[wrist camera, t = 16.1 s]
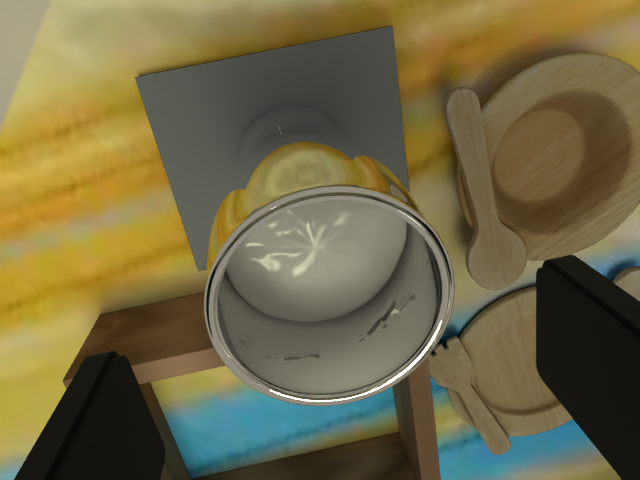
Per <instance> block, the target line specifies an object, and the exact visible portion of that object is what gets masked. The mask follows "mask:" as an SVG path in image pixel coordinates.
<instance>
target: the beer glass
mask: <svg viewBox="0 0 640 480" xmlns="http://www.w3.org/2000/svg"><path fill="white" fill-rule="evenodd" d="M453 301H454V274H453V269H452V264H451V261H450V258H449V255H448V252H447V250H446V248H445V246H444V244H443V242H442V240H441V238H440V237H439V235H438V234H437V232H436V231H435V230H434V228H433V227H432V226H431V225H430V224H429V223H428V221H427V219H426V218H425V216H424V214H423V213H422V211H421V210H420V208H419V206H418V205H417V203H416V202H415V200H414V199H413V197H412V196H411V194H410V193H409V191H408V190H407V189H406V188H405V186H404V185H403V184H402V183H401V181H400V180H399V179H398V178H397V177H396V175H395V174H394V173H393V172H392V171H391V170H390V169H389V168H388V167H387V166H386V165H385V164H384V163H383V162H381V161H380V160H379V159H378V158H377V157H376V156H375V155H373V154H372V153H371V152H369V151H368V150H367V149H365V148H363V147H362V146H360V145H358V144H356V143H354V142H352V141H350V140H347V139H345V138H344V136H343V134H342V132H341V131H340V129H339V128H338V127H337V125H336V124H335V123H334V122H333V121H332V120H331V119H329V118H328V117H327V116H325V115H324V114H322V113H320V112H319V111H316V110H314V109H311V108H307V107H302V106H286V107H280V108H277V109H274V110H271V111H269V112H267V113H266V114H264V115H262V116H261V117H260V118H258V119H257V120H256V121H255V122H254V123H253V124H252V125H251V126H250V127H249V129H248V130H247V131H246V133H245V135H244V136H243V139H242V141H241V144H240V147H239V152H238V167H237V168H236V169H235V171H234V172H233V174H232V175H231V176H230V178H229V179H228V181H227V183H226V185H225V186H224V188H223V191H222V193H221V195H220V198H219V201H218V204H217V207H216V210H215V213H214V216H213V220H212V225H211V231H210V238H209V244H208V256H207V282H206V287H205V293H204V316H205V322H206V327H207V331H208V334H209V337H210V339H211V342H212V344H213V346H214V348H215V350H216V352H217V353H218V355H219V357H220V358H221V360H222V361H223V362H224V364H225V365H226V366H227V367H228V368H229V369H230V370H231V371H232V372H233V373H234V374H235V375H236V376H237V377H238V378H239V379H240V380H242V381H243V382H244V383H246V384H247V385H249V386H250V387H252V388H254V389H255V390H257V391H259V392H261V393H263V394H265V395H267V396H270V397H272V398H275V399H278V400H281V401H285V402H289V403H294V404H300V405H309V406H330V405H339V404H345V403H350V402H355V401H358V400H362V399H365V398H368V397H371V396H373V395H376V394H378V393H380V392H382V391H384V390H386V389H388V388H390V387H392V386H394V385H395V384H397V383H398V382H400V381H401V380H403V379H404V378H406V377H407V376H408V375H410V374H411V373H412V372H413V371H414V370H415V369H417V368H418V367H419V366H420V365H421V364H422V363H423V362H424V361H425V359H426V358H427V357H428V356H429V355H430V354H431V352H432V351H433V349H434V348H435V347H436V345H437V344H438V342H439V340H440V339H441V337H442V335H443V333H444V331H445V329H446V326H447V324H448V321H449V318H450V315H451V311H452V307H453Z"/></svg>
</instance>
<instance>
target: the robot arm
mask: <svg viewBox="0 0 640 480" xmlns="http://www.w3.org/2000/svg"><path fill="white" fill-rule="evenodd" d="M536 367H537V371H538V374H539V376H540V378H541V379H542V381H543V382H544V383H545V384H546V386H547V387H548V388H549V389H550V391H551V392H552V393H553V394H554V396H555V397H556V398H557V399H558V401H559V402H560V403H561V404H562V406H563V407H564V408H565V409H566V410H567V412H568V413H569V414H570V415H571V417H572V418H573V419H574V420H575V422H576V423H577V424H578V425H579V427H580V428H581V429H582V430H583V432H584V433H585V434H586V435H587V437H588V438H589V439H590V440H591V442H592V443H593V444H594V445H595V447H596V448H597V449H598V450H599V451H600V453H601V454H602V455H603V456H604V458H605V459H606V460H607V461H608V463H609V464H610V465H611V466H612V468H613V469H614V470H615V471H616V473H617V474H618V475H619V476H620V478H621V479H622V480H640V301H639V300H637V299H636V298H634V297H633V296H632V295H630V294H629V293H627V292H626V291H624V290H623V289H622V288H620V287H619V286H617V285H616V284H614V283H613V282H612V281H610V280H609V279H607V278H606V277H604V276H603V275H602V274H600V273H599V272H597V271H596V270H594V269H593V268H592V267H590V266H589V265H587V264H586V263H584V262H583V261H582V260H580V259H579V258H577V257H576V256H574V255H568V256H563V257H558V258H553V259H549V260H546V261H545V262H544V263H543V267H542V268H539V269H538V270H537V273H536ZM164 462H165V446H164V443H163V440H162V438H161V435H160V433H159V431H158V428H157V426H156V424H155V421H154V419H153V417H152V414H151V412H150V409H149V407H148V405H147V402H146V400H145V398H144V395H143V393H142V391H141V388H140V386H139V384H138V381H137V379H136V376H135V374H134V372H133V369H132V367H131V365H130V362H129V360H128V358H127V357H126V356H124V355H122V356H119V354H118V353H117V352H116V351H109V352H105V353H100V354H95V355H90V356H87V357H86V358H85V359H84V361H83V362H82V364H81V366H80V367H79V369H78V371H77V373H76V374H75V376H74V378H73V379H72V381H71V383H70V385H69V386H68V388H67V390H66V391H65V393H64V395H63V397H62V398H61V400H60V402H59V403H58V405H57V407H56V409H55V410H54V412H53V414H52V415H51V417H50V419H49V420H48V422H47V424H46V426H45V427H44V429H43V431H42V432H41V434H40V436H39V438H38V439H37V441H36V443H35V444H34V446H33V448H32V450H31V451H30V453H29V455H28V456H27V458H26V460H25V462H24V463H23V465H22V467H21V468H20V470H19V472H18V474H17V475H16V477H15V479H14V480H160V478H161V474H162V470H163V466H164Z"/></svg>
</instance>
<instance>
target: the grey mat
mask: <svg viewBox="0 0 640 480" xmlns="http://www.w3.org/2000/svg"><path fill="white" fill-rule="evenodd" d="M135 79H136V82H137V85H138V88H139V91H140V94H141V97H142V101H143V104H144V107H145V110H146V113H147V116H148V119H149V122H150V125H151V128H152V131H153V134H154V137H155V140H156V143H157V146H158V149H159V152H160V155H161V159H162V162H163V165H164V168H165V171H166V174H167V177H168V180H169V183H170V186H171V189H172V192H173V195H174V198H175V201H176V204H177V207H178V210H179V213H180V217H181V220H182V223H183V226H184V229H185V232H186V235H187V238H188V241H189V244H190V247H191V250H192V253H193V256H194V259H195V262H196V265H197V268H198V271H201V270H206V269H207V256H208V244H209V238H210V231H211V225H212V220H213V216H214V213H215V210H216V207H217V204H218V201H219V198H220V195H221V193H222V191H223V188H224V186H225V185H226V183H227V181H228V179H229V178H230V176H231V175H232V174H233V172H234V171H235V169H236V168H237V167H238V152H239V147H240V144H241V141H242V139H243V136H244V135H245V133H246V131H247V130H248V129H249V127H250V126H251V125H252V124H253V123H254V122H255V121H256V120H257V119H258V118H260V117H261V116H262V115H264V114H266V113H267V112H269V111H271V110H274V109H277V108H280V107H286V106H302V107H307V108H311V109H314V110H316V111H319V112H320V113H322V114H324V115H325V116H327V117H328V118H329V119H331V120H332V121H333V122H334V123H335V124H336V125H337V127H338V128H339V129H340V131H341V132H342V134H343V136H344V138H345V139H347V140H350V141H352V142H354V143H356V144H358V145H360V146H362V147H363V148H365V149H367V150H368V151H369V152H371V153H372V154H373V155H375V156H376V157H377V158H378V159H379V160H380V161H381V162H383V163H384V164H385V165H386V166H387V167H388V168H389V169H390V170H391V171H392V172H393V173H394V174H395V175H396V177H397V178H398V179H399V180H400V181H401V183H402V184H403V185H404V186H405V188H406V189H407V190H408V191H409V182H408V173H407V163H406V153H405V144H404V134H403V124H402V115H401V105H400V95H399V86H398V76H397V66H396V57H395V47H394V37H393V28H392V26H390V27H384V28H379V29H374V30H369V31H364V32H359V33H354V34H349V35H344V36H339V37H334V38H329V39H324V40H319V41H314V42H309V43H304V44H299V45H294V46H289V47H284V48H279V49H274V50H269V51H264V52H259V53H254V54H248V55H243V56H238V57H233V58H228V59H223V60H218V61H213V62H208V63H203V64H198V65H193V66H188V67H183V68H178V69H173V70H168V71H163V72H158V73H153V74H148V75H143V76H138V77H135ZM409 193H410V192H409Z"/></svg>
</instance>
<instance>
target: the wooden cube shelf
mask: <svg viewBox="0 0 640 480" xmlns="http://www.w3.org/2000/svg"><path fill="white" fill-rule="evenodd" d="M204 293H205V292H204ZM204 293H200V294H195V295H190V296H186V297H181V298H176V299H172V300H167V301H162V302H158V303H153V304H148V305H144V306H139V307H134V308H130V309H125V310H120V311H116V312H111V313H106V314H102V315H100V316H99V317H98V319H97V321H96V323H95V324H94V326H93V328H92V330H91V331H90V333H89V335H88V337H87V339H86V340H85V342H84V344H83V346H82V347H81V349H80V351H79V353H78V354H77V356H76V358H75V360H74V361H73V363H72V365H71V367H70V369H69V370H68V372H67V374H66V376H65V377H64V379H63V383H64V385H65V387H66V389H67V388H68V386H69V385H70V383H71V381H72V379H73V378H74V376H75V374H76V373H77V371H78V369H79V367H80V366H81V364H82V362H83V361H84V359H85V358H86V357H87V356H90V355H95V354H100V353H105V352H109V351H116V352H117V353H118V354H119V356H122V355H124V356H126V357H127V358H128V360H129V362H130V365H131V367H132V369H133V372H134V374H135V376H136V379H137V381H138V384H139V386H140V388H141V391H142V393H143V395H144V398H145V400H146V402H147V405H148V407H149V409H150V412H151V414H152V417H153V419H154V421H155V424H156V426H157V428H158V431H159V433H160V435H161V438H162V440H163V443H164V446H165V462H164V466H163V470H162V474H161V478H160V480H191V478H190V476H189V473H188V471H187V469H186V466H185V464H184V462H183V459H182V457H181V455H180V452H179V450H178V447H177V445H176V443H175V440H174V438H173V436H172V433H171V431H170V429H169V426H168V424H167V422H166V419H165V417H164V415H163V412H162V410H161V408H160V405H159V403H158V400H157V398H156V396H155V393H154V391H153V389H152V386H151V384H150V382H152V381H157V380H162V379H166V378H171V377H175V376H180V375H184V374H189V373H193V372H198V371H203V370H207V369H212V368H216V367H221V366H225V364H224V362H223V361H222V360H221V358H220V357H219V355H218V353H217V352H216V350H215V348H214V346H213V344H212V342H211V339H210V337H209V334H208V331H207V327H206V322H205V316H204ZM393 391H394V397H395V404H396V411H397V418H398V425H399V433H395V434H390V435H386V436H382V437H377V438H373V439H368V440H364V441H359V442H355V443H351V444H346V445H342V446H337V447H333V448H329V449H324V450H320V451H315V452H311V453H306V454H302V455H298V456H293V457H289V458H284V459H280V460H276V461H271V462H267V463H262V464H258V465H253V466H249V467H245V468H240V469H236V470H231V471H227V472H223V473H218V474H214V475H209V476H205V477H201V478H196V479H192V480H441V478H440V468H439V458H438V449H437V439H436V429H435V419H434V409H433V400H432V390H431V380H430V370H429V360H428V357H427V358H426V359H425V361H424V362H423V363H422V364H421V365H420V366H419V367H418V368H417V369H415V370H414V371H413V372H412V373H411V374H410V375H408V376H407V377H406V378H404V379H403V380H401V381H400V382H398V383H397V384H395V385H394V386H393Z"/></svg>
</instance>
